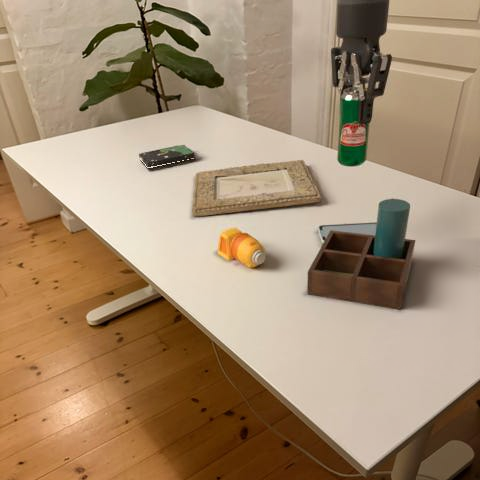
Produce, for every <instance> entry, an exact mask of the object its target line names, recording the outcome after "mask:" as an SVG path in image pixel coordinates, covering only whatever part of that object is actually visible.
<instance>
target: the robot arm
mask: <svg viewBox="0 0 480 480" xmlns="http://www.w3.org/2000/svg"><path fill="white" fill-rule="evenodd" d="M336 6H337V7H336V27H335V29H336V30H335V35H336V37H337V38H339V39H342V42H341V45H340V46H335V47H331V49H330V60H331V62H330V63H331V78H332V86H333V88H337V92H338V93H339V101H340V100H341V96H342V95H343V93H344V92H343V90H344V89H347V88H352V87H356V86H357V87H358V88H359V96H360V100H359V108H358V123H359V124H361V125H363V124H368V123H371V122H372V119H373V113H374V102H375V99H376V98H379V97H383V96H384V94H385V90H386V86H387V82H388V78H389V73H390V69H391V66H392V61H393V56H392V54H391V53H387V54H384V53H382V52H381V47H380V38H381V37H382V36H384V35H386V33H387V29H388V20H389V19H388V18H389V9H390V0H337V5H336ZM377 83H378V85H377ZM366 85H367V86H366ZM366 88H367V91H366ZM339 116H340V112H339Z"/></svg>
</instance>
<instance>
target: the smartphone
mask: <svg viewBox="0 0 480 480" xmlns="http://www.w3.org/2000/svg"><path fill="white" fill-rule="evenodd" d="M376 224H377V221H376V222H375V221H374V222H354V223H337V224H334V223H333V224H320V225H318V226H317V230H318V234H319V238H320V241H321V243H322V244H323V243H324V241H325V240H326V238H327V236H328V234H329V232H330V230H332V231H341V232H350V233H359V234H367V235H375V233H376Z"/></svg>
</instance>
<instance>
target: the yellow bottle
mask: <svg viewBox="0 0 480 480" xmlns="http://www.w3.org/2000/svg"><path fill="white" fill-rule="evenodd" d="M218 239H219V240H218V246H217V254H218V255H219V256H221V257H222V258H224V259H225V260H227V261H233V260H236V261H238V262H240V263H241V264H243V266H246V267H248V268H255V267H257V266H260V265H261V264H263V263H264V262H265V260H266V251H265V248H264V246H263V245H262V244H261V242H260V241H259V240H258V239H256V237H253V236H252V235H251V234H249V233H247V232H242V230H240V229H239V228H237V227H231V228H228V229H226V230H223V231H221V232H220V235H219V238H218Z"/></svg>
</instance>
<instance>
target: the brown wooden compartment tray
mask: <svg viewBox="0 0 480 480" xmlns="http://www.w3.org/2000/svg"><path fill="white" fill-rule="evenodd" d="M374 242H375V235H367V234H359V233H350V232H341V231H332V230H330V232H329V234H328V236H327V238H326V240H325V241H324V243H322V245H321V247H320V248H319V251H318V252H317V254H316V255H315V257H314V259H313V261H312V263H311V265H310V266H309V268H308V270H307V289H306V291H307V292H306V293H307V295H310V296H316V297H323V298H328V299H334V300H335V299H336V300H340V301H346V302H347V301H348V302H353V303H359V304H364V305H370V306H375V307H381V308H387V309H394V310H401V307H402V304H403V299H404V295H405V291H406V287H407V283H408V279H409V276H410V271H411V266H412V262H413V257H414V251H415V246H416V239H410V238H409V239H408V238H405V243H404V250H403V256H402V259H397V258H389V257H381V256H374V255H373V250H374Z"/></svg>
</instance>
